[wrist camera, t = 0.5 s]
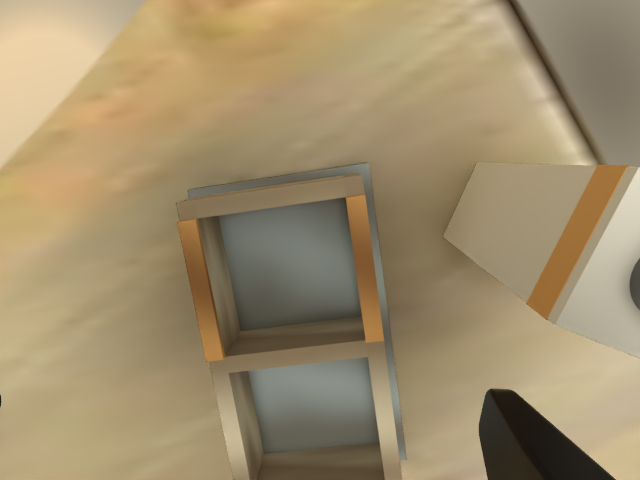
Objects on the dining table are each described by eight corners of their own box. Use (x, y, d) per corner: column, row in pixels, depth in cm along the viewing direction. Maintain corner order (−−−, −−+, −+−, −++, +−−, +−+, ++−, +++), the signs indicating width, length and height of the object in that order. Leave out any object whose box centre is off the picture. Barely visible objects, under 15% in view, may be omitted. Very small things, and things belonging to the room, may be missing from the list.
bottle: (515, 266, 22) (790, 438, 9) (442, 237, 22) (601, 363, 9) (552, 192, 22) (919, 251, 8) (476, 161, 22) (713, 168, 8)
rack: (404, 449, 25) (416, 507, 21) (247, 465, 25) (229, 523, 21) (368, 162, 22) (373, 163, 18) (192, 188, 22) (159, 195, 18)
